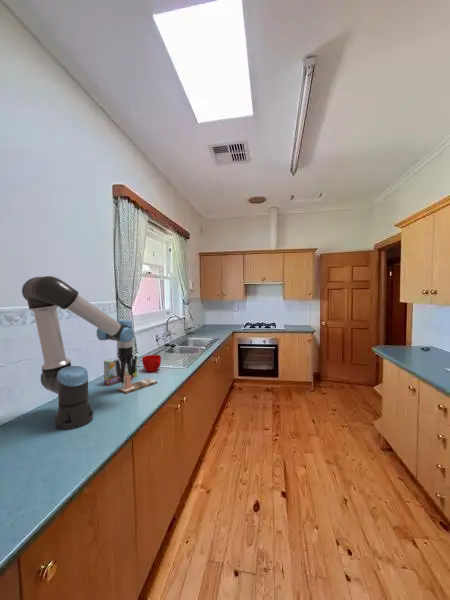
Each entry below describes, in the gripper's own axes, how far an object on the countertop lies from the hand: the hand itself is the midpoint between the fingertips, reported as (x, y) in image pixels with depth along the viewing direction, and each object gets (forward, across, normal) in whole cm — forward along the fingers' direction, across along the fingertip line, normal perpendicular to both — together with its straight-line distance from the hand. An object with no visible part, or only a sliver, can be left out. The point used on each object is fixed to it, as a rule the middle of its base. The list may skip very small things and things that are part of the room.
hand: (126, 387), depth 157 cm
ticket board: (+2, -8, 0) cm, 8 cm away
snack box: (+2, -8, -19) cm, 20 cm away
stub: (+1, 0, 0) cm, 1 cm away
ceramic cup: (+2, -32, -18) cm, 37 cm away
